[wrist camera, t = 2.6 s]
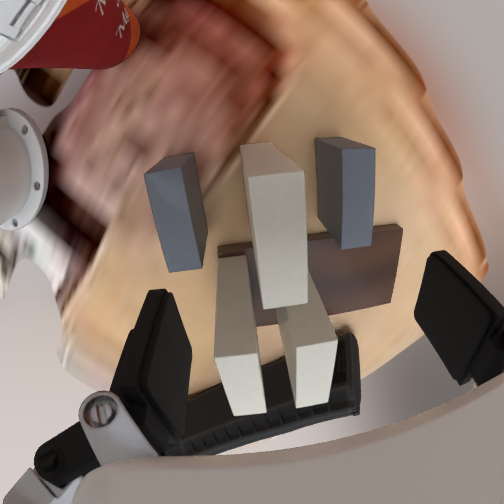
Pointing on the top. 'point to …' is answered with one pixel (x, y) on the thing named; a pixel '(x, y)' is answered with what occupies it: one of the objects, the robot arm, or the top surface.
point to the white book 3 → (308, 348)
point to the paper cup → (66, 33)
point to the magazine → (268, 408)
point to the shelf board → (337, 272)
